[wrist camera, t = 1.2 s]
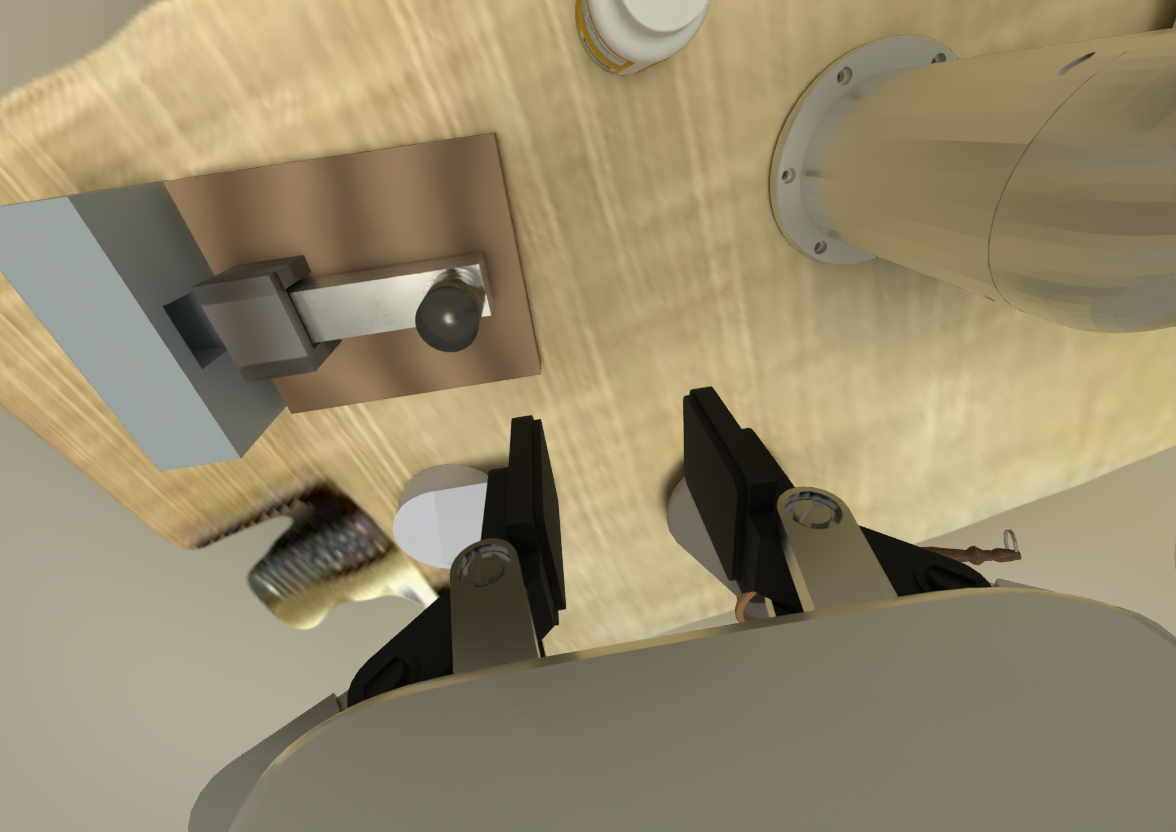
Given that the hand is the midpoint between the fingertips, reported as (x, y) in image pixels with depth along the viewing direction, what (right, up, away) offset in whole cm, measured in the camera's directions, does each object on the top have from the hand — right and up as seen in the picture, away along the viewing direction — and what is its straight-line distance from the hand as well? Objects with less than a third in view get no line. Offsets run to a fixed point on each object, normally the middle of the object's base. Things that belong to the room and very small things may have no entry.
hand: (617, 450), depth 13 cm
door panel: (-14, +10, +18) cm, 25 cm away
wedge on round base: (-11, -7, +30) cm, 32 cm away
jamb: (-26, +8, +18) cm, 33 cm away
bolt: (-13, +9, +17) cm, 23 cm away
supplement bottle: (+1, +23, +13) cm, 26 cm away
